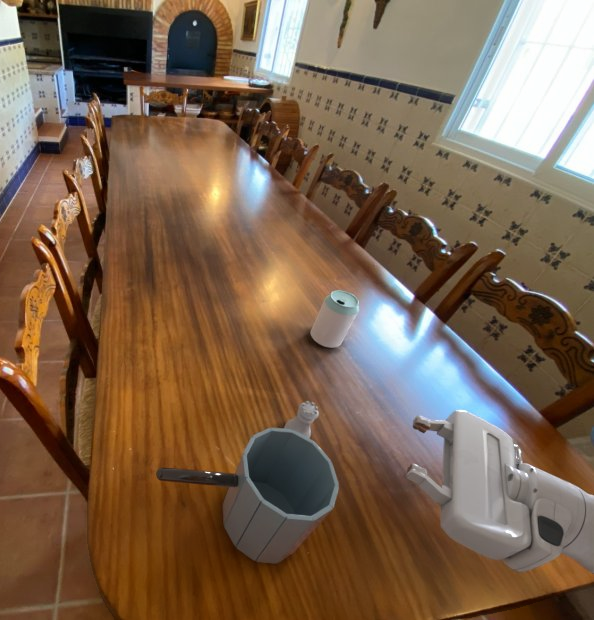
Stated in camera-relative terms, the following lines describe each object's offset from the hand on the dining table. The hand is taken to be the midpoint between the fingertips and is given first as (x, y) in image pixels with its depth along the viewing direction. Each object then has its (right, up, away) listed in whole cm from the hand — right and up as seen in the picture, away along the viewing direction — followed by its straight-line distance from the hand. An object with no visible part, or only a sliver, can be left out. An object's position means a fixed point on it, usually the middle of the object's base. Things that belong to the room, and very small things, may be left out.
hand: (411, 443), depth 52 cm
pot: (-27, -10, 0) cm, 29 cm away
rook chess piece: (-13, -3, +11) cm, 17 cm away
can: (+1, +13, +31) cm, 34 cm away
